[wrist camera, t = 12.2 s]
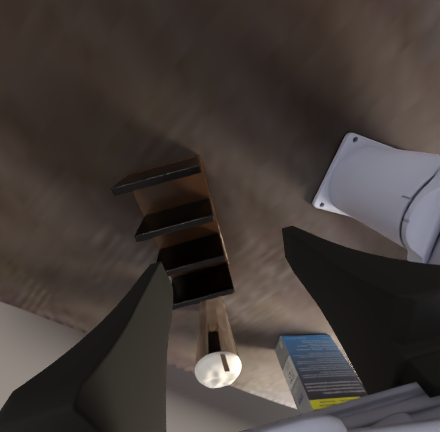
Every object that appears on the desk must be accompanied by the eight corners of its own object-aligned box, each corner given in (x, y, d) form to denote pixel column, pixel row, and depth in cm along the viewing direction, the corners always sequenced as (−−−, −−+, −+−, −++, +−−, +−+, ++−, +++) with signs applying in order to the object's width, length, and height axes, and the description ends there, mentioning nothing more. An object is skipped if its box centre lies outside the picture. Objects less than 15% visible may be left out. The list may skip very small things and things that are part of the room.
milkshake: (232, 286, 27) (253, 370, 18) (224, 316, 29) (239, 405, 20) (197, 284, 26) (200, 372, 17) (192, 315, 28) (192, 407, 19)
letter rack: (127, 173, 19) (107, 189, 15) (199, 154, 19) (201, 164, 15) (173, 276, 25) (168, 311, 20) (228, 261, 25) (236, 292, 20)
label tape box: (273, 349, 33) (314, 463, 22) (280, 332, 32) (327, 446, 21) (321, 348, 35) (382, 454, 24) (330, 332, 33) (400, 437, 22)
